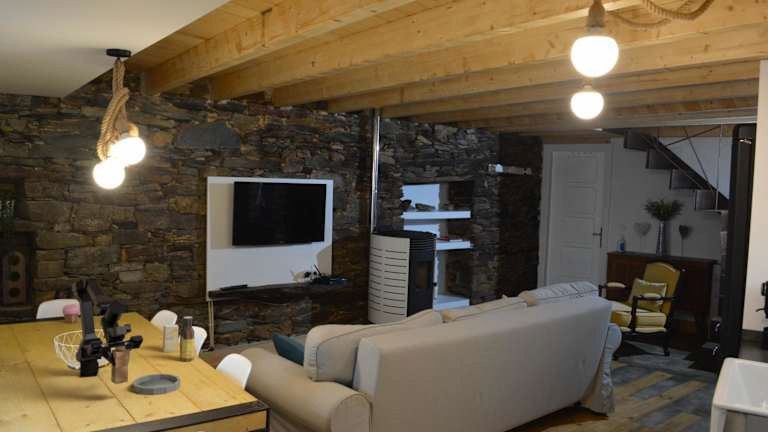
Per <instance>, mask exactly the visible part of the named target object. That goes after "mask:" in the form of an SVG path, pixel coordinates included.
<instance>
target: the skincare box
mask: <svg viewBox="0 0 768 432" xmlns="http://www.w3.org/2000/svg"><path fill="white" fill-rule="evenodd" d="M162 334H163V335H162V351H163V352H164V353H174V352H176V353H177V352H178V345H179V344H178V343H179V325H178V324H176V323H175V324H164V325H163V333H162Z"/></svg>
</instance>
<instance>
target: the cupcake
mask: <svg viewBox="0 0 768 432" xmlns="http://www.w3.org/2000/svg"><path fill="white" fill-rule="evenodd" d="M61 313H62V314H63V316H64V319H65V323H69V324H73V323H76V322H78V320H79V316H80V306H78V305H77V304H66V305H64V306H63V308H62V311H61Z"/></svg>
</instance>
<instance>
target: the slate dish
mask: <svg viewBox="0 0 768 432" xmlns="http://www.w3.org/2000/svg"><path fill="white" fill-rule="evenodd" d="M180 387H181V379H180V376H178V375H175V374H172V373H154V374H153V373H151V374H146V375H143V376H140V377H137V378H135V380H133V381H132V388H133V392H135V393H137V394H139V395H147V396H155V395H164V394H168V393H173V392H176V391H177V390H178V389H180Z"/></svg>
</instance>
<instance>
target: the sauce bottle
mask: <svg viewBox="0 0 768 432" xmlns="http://www.w3.org/2000/svg"><path fill="white" fill-rule="evenodd" d="M182 321H183V325H182V328H181V331H180V333H179V360H180V361H181V362H191V361H193V360H194V358H195V357H194V356H195V330H194V328H193V316H192V315H191V316H190V315H189V316H187V315H185V316H183V317H182Z"/></svg>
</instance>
